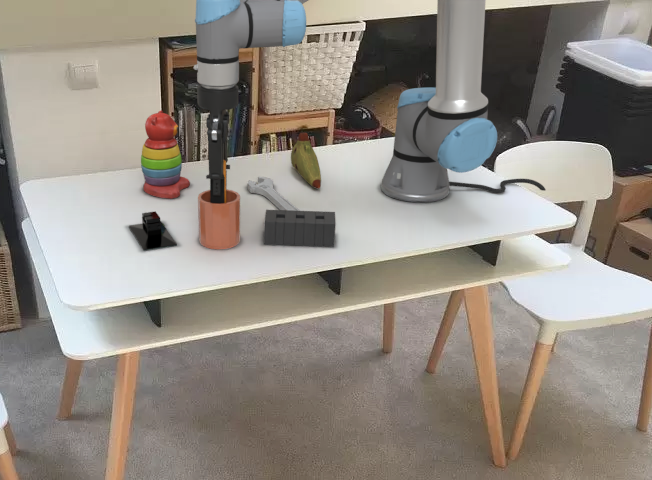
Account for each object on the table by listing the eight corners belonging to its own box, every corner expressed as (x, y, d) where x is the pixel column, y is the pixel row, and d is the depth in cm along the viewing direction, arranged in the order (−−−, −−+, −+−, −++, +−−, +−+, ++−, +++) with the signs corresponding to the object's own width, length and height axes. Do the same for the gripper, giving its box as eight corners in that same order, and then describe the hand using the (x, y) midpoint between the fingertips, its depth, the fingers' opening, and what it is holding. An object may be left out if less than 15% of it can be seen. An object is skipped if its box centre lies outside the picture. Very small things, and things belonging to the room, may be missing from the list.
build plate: (128, 227, 161) (126, 206, 158) (161, 222, 163) (160, 202, 160) (143, 251, 151) (141, 229, 148) (178, 245, 153) (177, 224, 150)
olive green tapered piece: (330, 192, 176) (332, 150, 171) (307, 194, 175) (309, 152, 170) (304, 163, 193) (306, 124, 188) (284, 165, 192) (285, 125, 187)
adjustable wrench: (308, 223, 162) (308, 215, 161) (279, 227, 160) (279, 219, 159) (268, 182, 182) (268, 175, 181) (242, 185, 180) (242, 178, 179)
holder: (333, 234, 156) (335, 211, 154) (333, 247, 151) (335, 223, 149) (265, 232, 158) (266, 209, 155) (263, 244, 153) (264, 221, 150)
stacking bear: (176, 200, 173) (172, 122, 164) (135, 195, 176) (129, 118, 166) (192, 183, 182) (190, 108, 172) (153, 179, 185) (148, 105, 175)
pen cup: (241, 233, 158) (241, 189, 152) (237, 250, 151) (238, 205, 146) (202, 231, 158) (201, 188, 153) (196, 248, 151) (195, 203, 146)
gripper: (202, 73, 145) (204, 190, 158) (191, 95, 132) (194, 221, 144) (242, 74, 144) (241, 191, 157) (234, 96, 131) (233, 222, 143)
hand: (218, 205), depth 150 cm, fingers closed on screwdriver, 3 cm apart
